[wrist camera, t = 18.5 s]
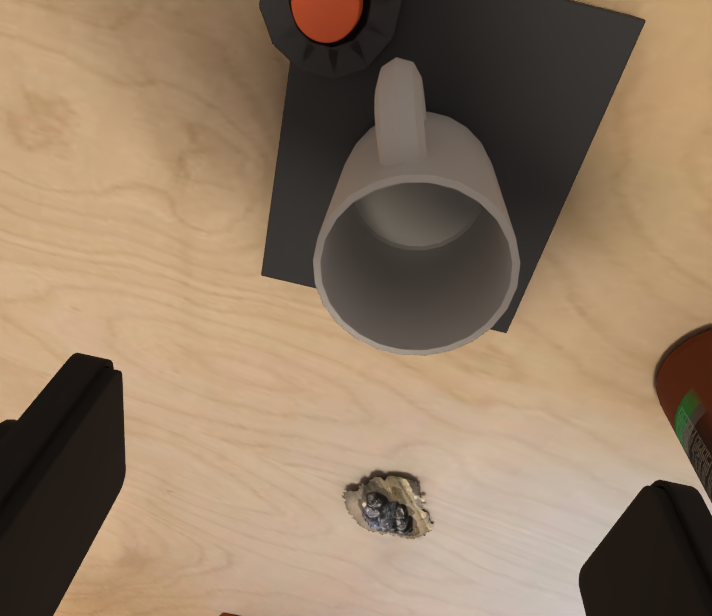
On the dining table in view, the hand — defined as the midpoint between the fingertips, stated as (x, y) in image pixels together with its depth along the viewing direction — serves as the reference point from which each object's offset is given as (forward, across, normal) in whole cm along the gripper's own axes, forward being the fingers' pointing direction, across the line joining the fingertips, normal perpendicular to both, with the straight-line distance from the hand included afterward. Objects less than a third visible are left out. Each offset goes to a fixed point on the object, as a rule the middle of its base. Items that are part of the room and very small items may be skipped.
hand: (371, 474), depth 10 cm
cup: (+20, -1, 0) cm, 20 cm away
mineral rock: (+21, -6, +27) cm, 34 cm away
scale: (+21, -1, +1) cm, 21 cm away
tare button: (+18, +4, -5) cm, 20 cm away
